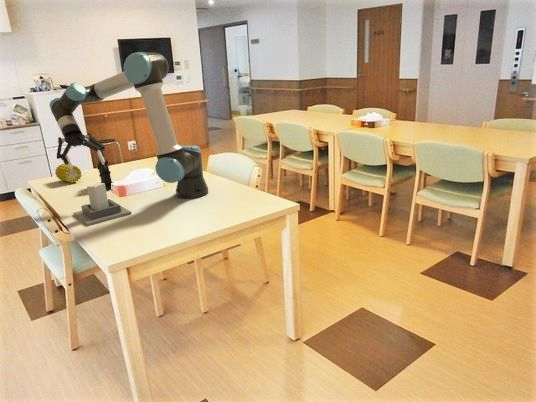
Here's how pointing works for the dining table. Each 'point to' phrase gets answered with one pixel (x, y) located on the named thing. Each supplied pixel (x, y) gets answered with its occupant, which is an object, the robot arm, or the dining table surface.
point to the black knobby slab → (105, 174)
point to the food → (68, 173)
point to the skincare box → (97, 196)
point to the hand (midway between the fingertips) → (88, 166)
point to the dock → (101, 213)
